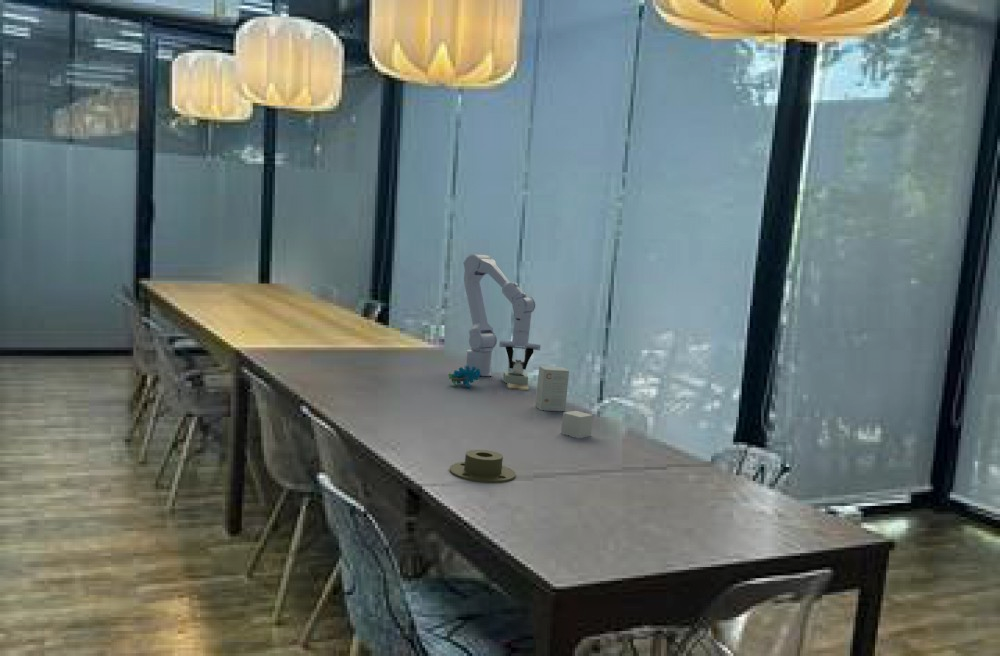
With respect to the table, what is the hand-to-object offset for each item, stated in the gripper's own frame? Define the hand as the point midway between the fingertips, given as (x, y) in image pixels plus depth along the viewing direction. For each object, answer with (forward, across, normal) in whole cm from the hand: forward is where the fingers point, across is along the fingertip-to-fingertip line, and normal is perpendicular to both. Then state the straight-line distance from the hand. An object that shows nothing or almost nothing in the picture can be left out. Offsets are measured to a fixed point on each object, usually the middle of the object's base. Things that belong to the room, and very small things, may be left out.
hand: (517, 368), depth 324 cm
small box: (+5, +7, -41) cm, 42 cm away
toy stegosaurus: (+6, -19, -14) cm, 25 cm away
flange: (+6, -19, -118) cm, 120 cm away
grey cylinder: (+4, 0, 0) cm, 4 cm away
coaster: (+5, 0, -10) cm, 11 cm away
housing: (+5, 0, 0) cm, 5 cm away
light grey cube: (+5, +10, -73) cm, 74 cm away
